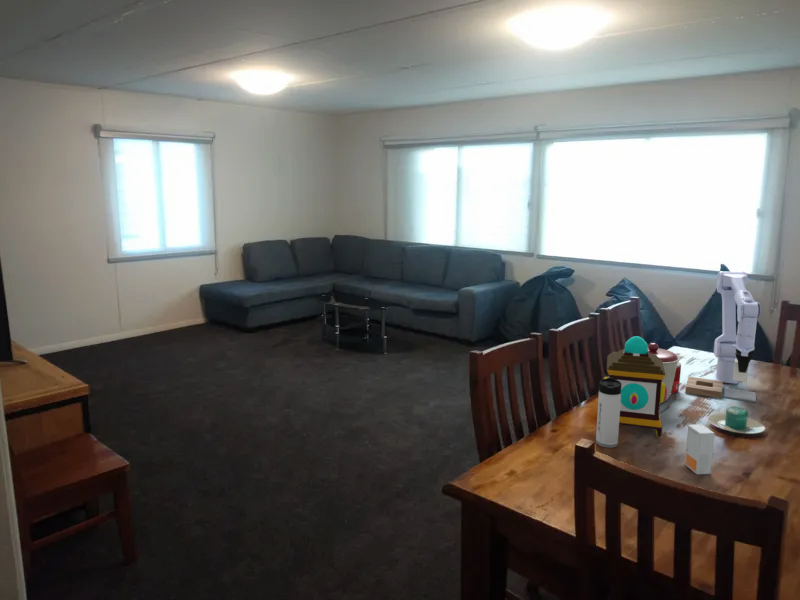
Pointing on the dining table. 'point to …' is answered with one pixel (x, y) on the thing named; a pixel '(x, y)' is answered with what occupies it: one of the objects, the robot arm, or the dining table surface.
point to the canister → (666, 365)
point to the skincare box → (699, 449)
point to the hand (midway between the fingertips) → (742, 370)
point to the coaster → (740, 395)
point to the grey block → (739, 373)
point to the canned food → (676, 379)
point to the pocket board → (704, 387)
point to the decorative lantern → (638, 384)
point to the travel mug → (608, 413)
